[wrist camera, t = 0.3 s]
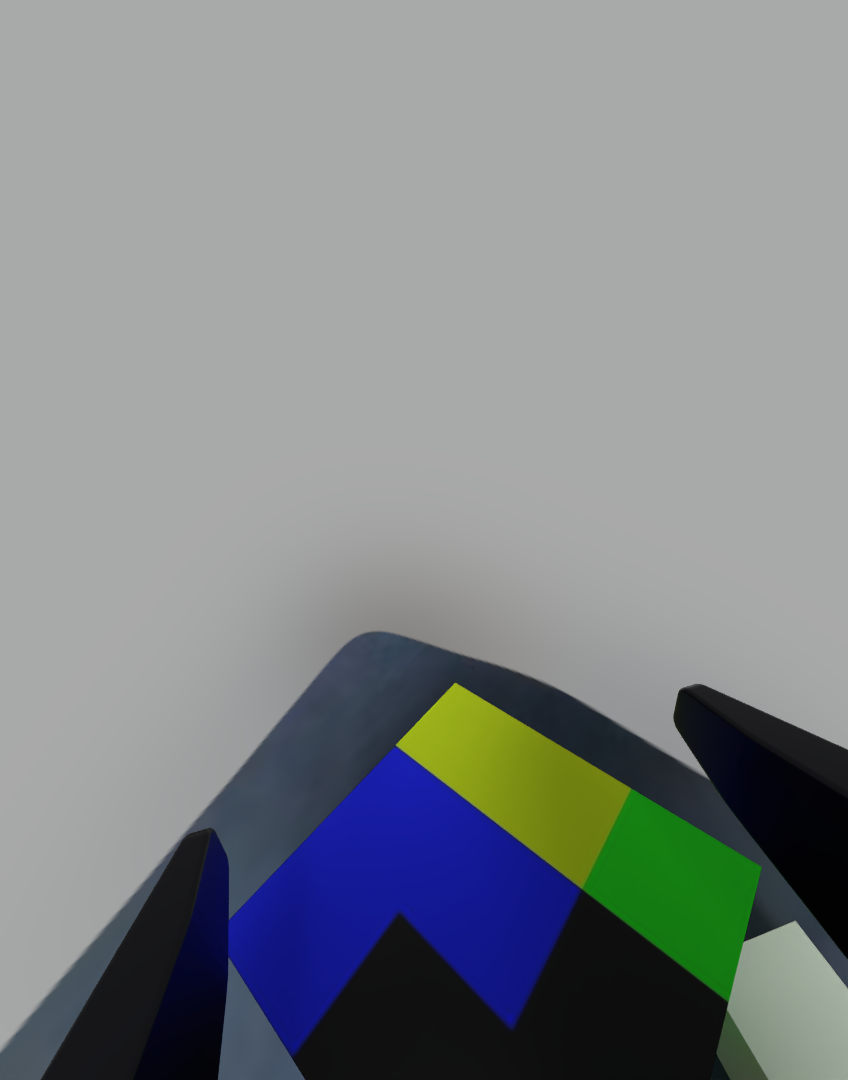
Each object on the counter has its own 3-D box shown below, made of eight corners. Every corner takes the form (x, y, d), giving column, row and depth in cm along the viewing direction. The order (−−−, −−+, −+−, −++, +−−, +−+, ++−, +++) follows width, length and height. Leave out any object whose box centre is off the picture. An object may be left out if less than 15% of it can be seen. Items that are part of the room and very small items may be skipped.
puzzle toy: (303, 1039, 17) (215, 934, 12) (464, 818, 23) (455, 682, 18) (549, 1416, 11) (596, 1546, 6) (680, 990, 18) (761, 866, 12)
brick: (876, 1105, 15) (922, 1085, 13) (771, 1159, 14) (806, 1144, 13) (769, 951, 18) (795, 920, 17) (679, 989, 18) (698, 960, 16)
